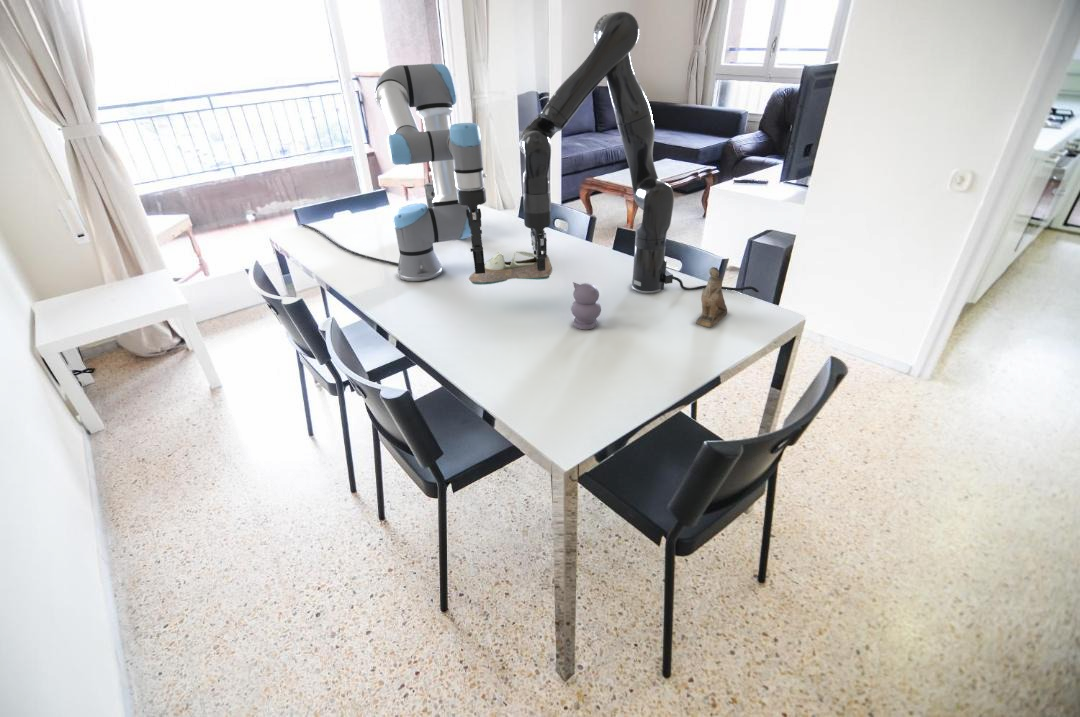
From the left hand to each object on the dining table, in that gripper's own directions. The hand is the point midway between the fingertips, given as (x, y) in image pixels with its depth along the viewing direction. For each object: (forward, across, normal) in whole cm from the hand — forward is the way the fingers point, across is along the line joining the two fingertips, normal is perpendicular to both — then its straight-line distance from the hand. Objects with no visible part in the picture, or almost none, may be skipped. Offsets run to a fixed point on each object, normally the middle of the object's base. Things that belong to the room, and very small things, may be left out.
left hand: (479, 264), depth 142 cm
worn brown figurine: (+15, -20, -63) cm, 68 cm away
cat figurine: (+15, -16, -28) cm, 35 cm away
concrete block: (+13, +78, +8) cm, 79 cm away
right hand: (+2, 0, -18) cm, 18 cm away
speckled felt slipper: (+6, +1, -9) cm, 11 cm away
